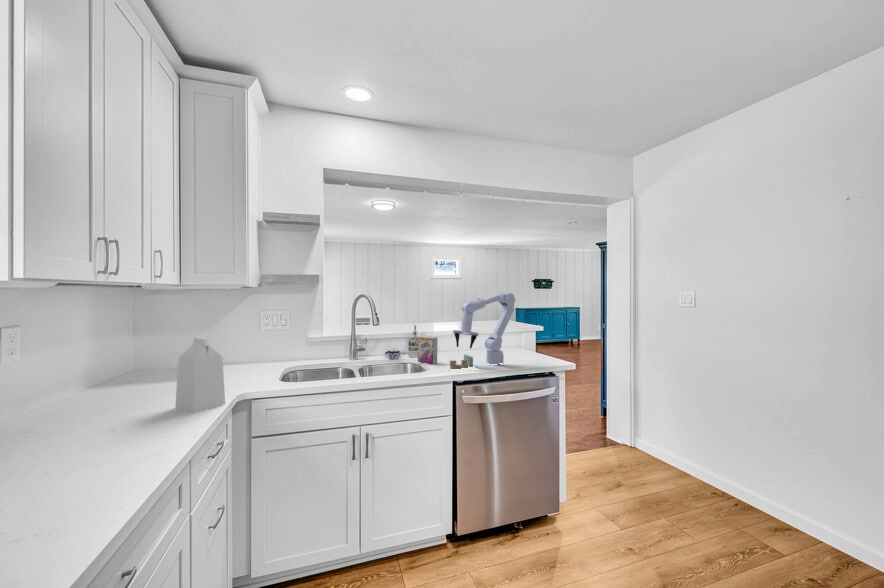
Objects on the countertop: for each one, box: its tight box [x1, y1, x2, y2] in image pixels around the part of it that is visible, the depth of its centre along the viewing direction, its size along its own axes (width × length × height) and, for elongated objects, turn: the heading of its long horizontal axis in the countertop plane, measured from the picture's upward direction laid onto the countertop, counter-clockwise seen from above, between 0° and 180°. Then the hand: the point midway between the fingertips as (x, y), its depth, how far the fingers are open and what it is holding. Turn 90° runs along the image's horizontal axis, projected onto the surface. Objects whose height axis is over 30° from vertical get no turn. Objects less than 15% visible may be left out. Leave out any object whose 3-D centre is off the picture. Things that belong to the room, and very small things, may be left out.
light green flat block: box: [463, 353, 474, 367], centre depth 215 cm, size 2×10×6 cm, turn 17°
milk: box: [174, 337, 226, 414], centre depth 142 cm, size 12×12×26 cm
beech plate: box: [449, 359, 468, 369], centre depth 206 cm, size 10×2×5 cm, turn 107°
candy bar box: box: [417, 335, 438, 365], centre depth 224 cm, size 11×5×16 cm, turn 58°
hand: (464, 347), depth 214 cm, fingers open, 7 cm apart
